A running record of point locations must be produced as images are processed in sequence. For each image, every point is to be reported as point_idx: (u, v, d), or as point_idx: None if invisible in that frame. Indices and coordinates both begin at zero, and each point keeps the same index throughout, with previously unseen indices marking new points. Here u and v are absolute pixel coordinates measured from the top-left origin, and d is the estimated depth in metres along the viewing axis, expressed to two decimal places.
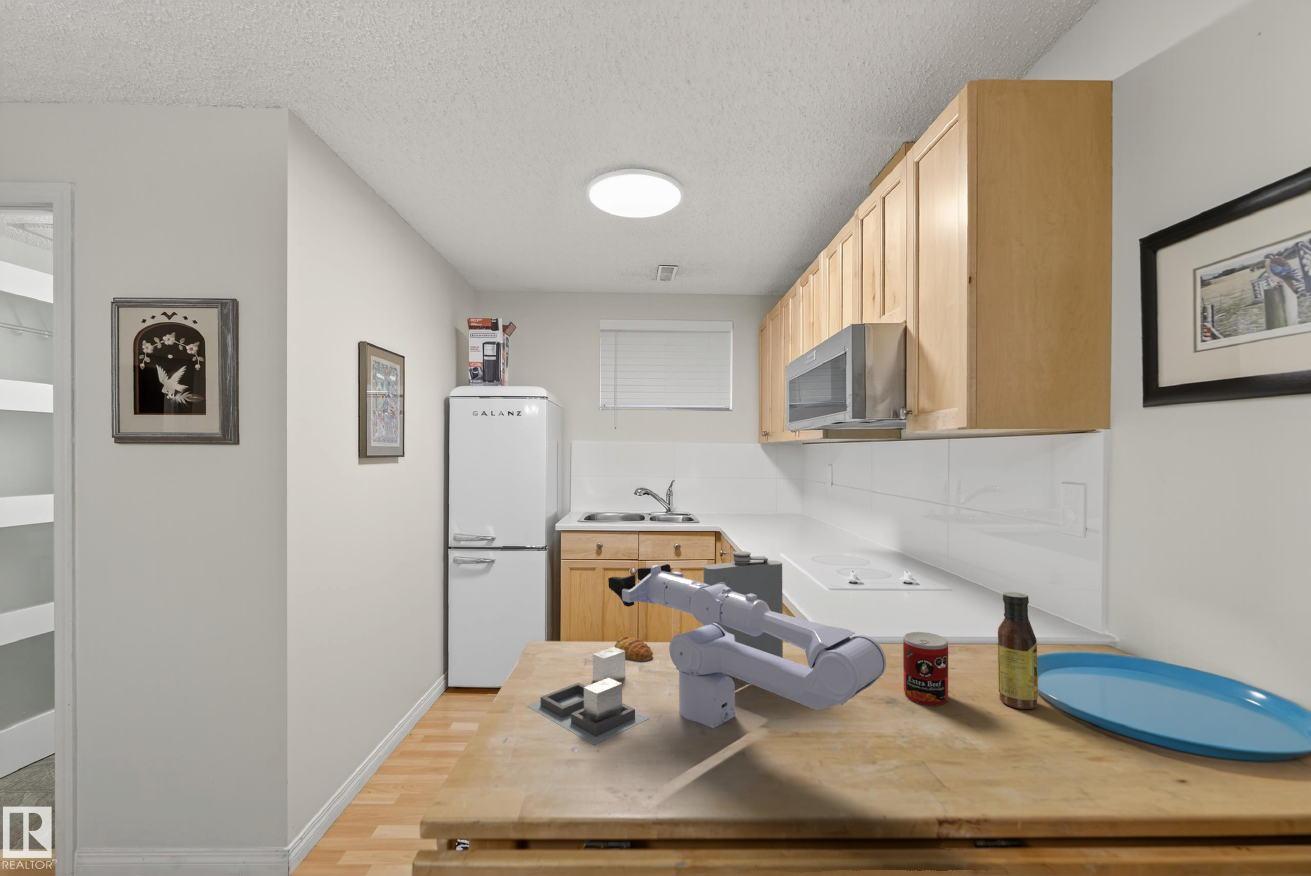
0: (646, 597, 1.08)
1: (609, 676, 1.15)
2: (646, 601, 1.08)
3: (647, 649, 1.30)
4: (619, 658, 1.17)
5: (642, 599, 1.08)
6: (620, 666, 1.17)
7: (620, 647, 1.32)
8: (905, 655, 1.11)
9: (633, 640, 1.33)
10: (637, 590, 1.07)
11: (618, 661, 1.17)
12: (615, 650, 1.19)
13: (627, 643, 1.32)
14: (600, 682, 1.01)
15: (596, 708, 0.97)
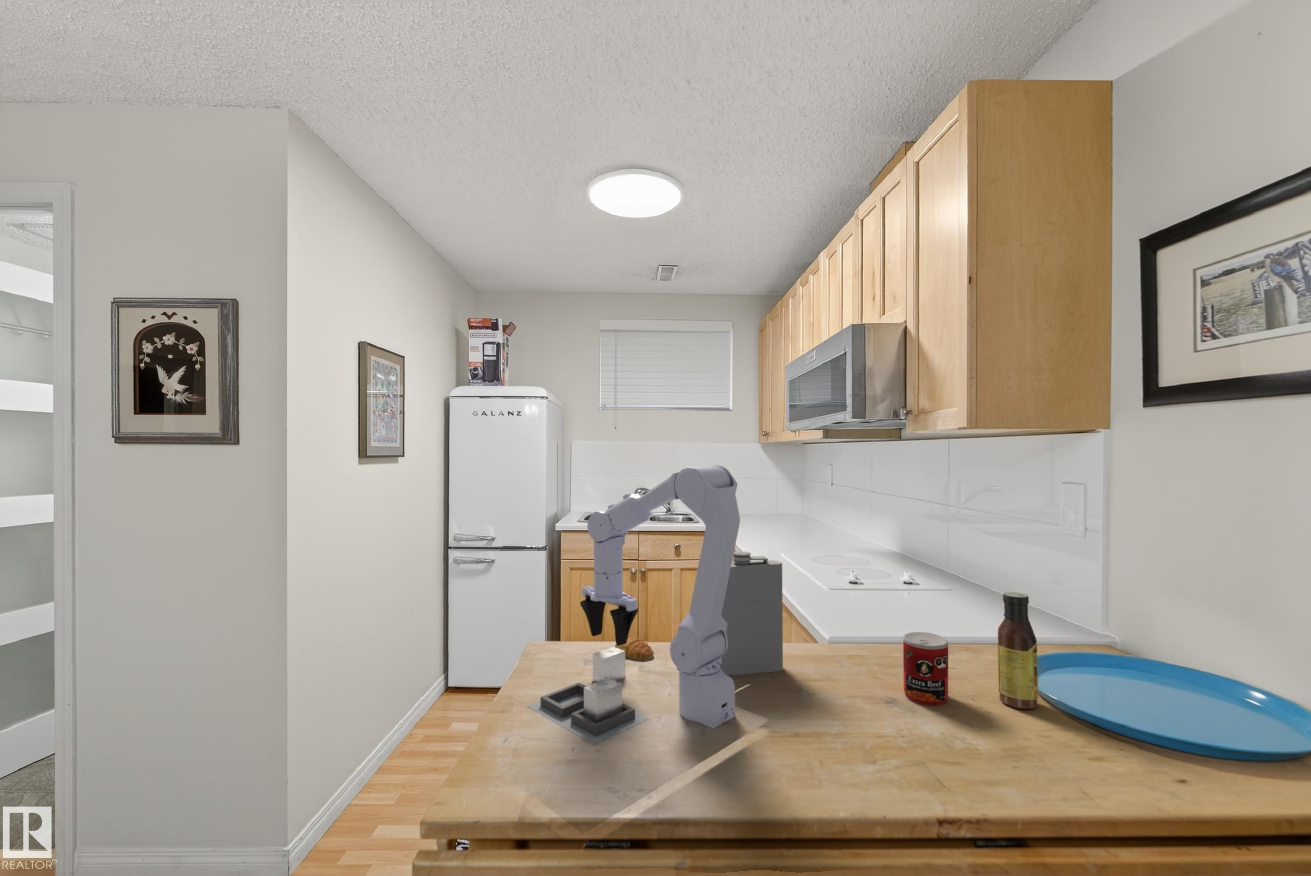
0: (622, 595, 1.16)
1: (609, 676, 1.15)
2: (625, 594, 1.17)
3: (648, 649, 1.30)
4: (619, 658, 1.17)
5: (626, 597, 1.16)
6: (620, 666, 1.17)
7: (621, 647, 1.32)
8: (905, 655, 1.11)
9: (634, 640, 1.33)
10: (622, 600, 1.13)
11: (618, 661, 1.17)
12: (615, 650, 1.19)
13: (627, 642, 1.32)
14: (600, 682, 1.01)
15: (596, 708, 0.97)
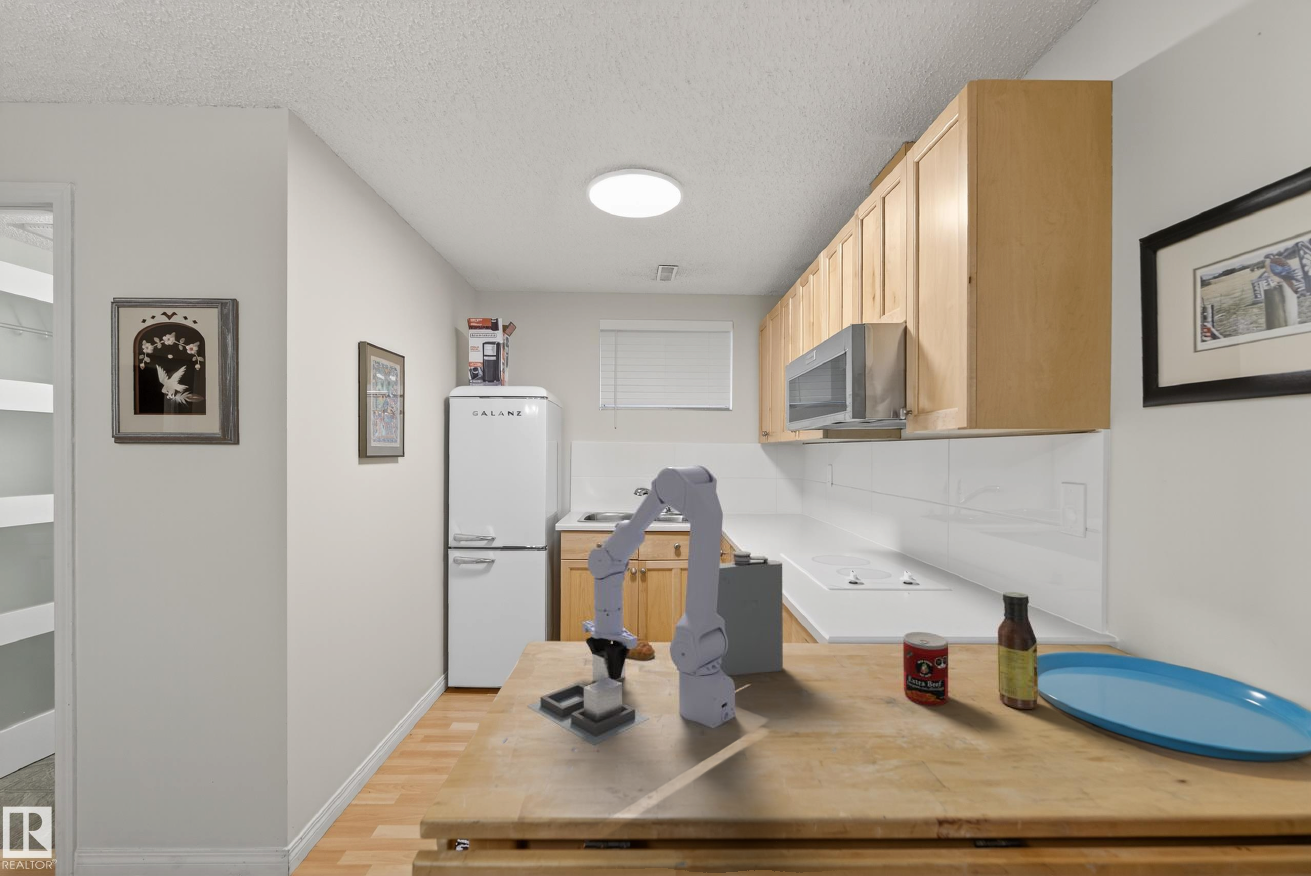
0: (622, 632, 1.16)
1: (609, 676, 1.15)
2: (625, 630, 1.17)
3: (649, 648, 1.31)
4: None
5: (626, 633, 1.16)
6: None
7: None
8: (905, 655, 1.11)
9: None
10: None
11: None
12: None
13: None
14: (600, 682, 1.01)
15: (596, 708, 0.97)
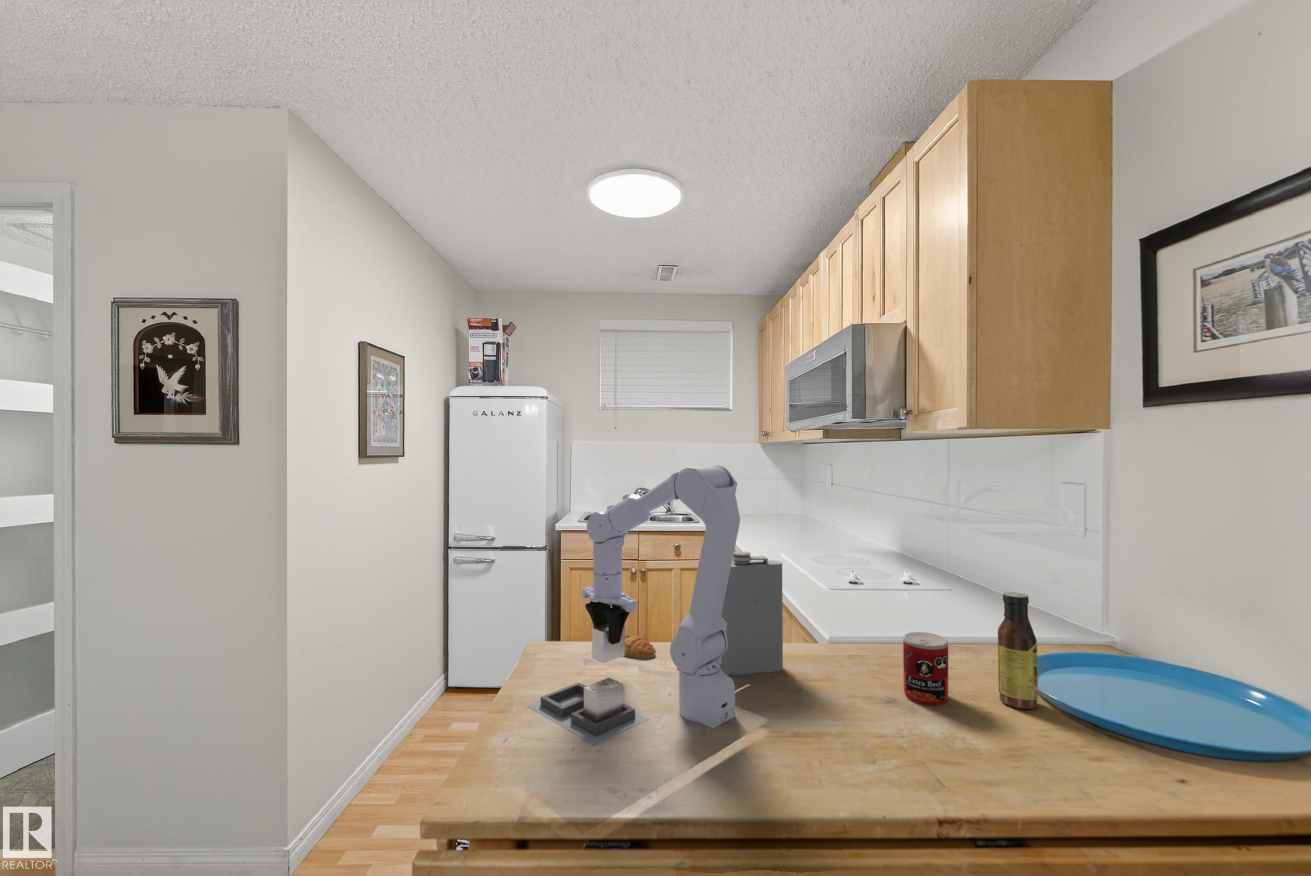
0: (622, 596, 1.16)
1: (608, 650, 1.15)
2: (625, 595, 1.16)
3: (650, 647, 1.31)
4: None
5: (625, 598, 1.16)
6: None
7: None
8: (905, 655, 1.11)
9: (635, 638, 1.34)
10: (622, 601, 1.13)
11: None
12: None
13: (629, 641, 1.33)
14: (600, 682, 1.01)
15: (596, 708, 0.97)
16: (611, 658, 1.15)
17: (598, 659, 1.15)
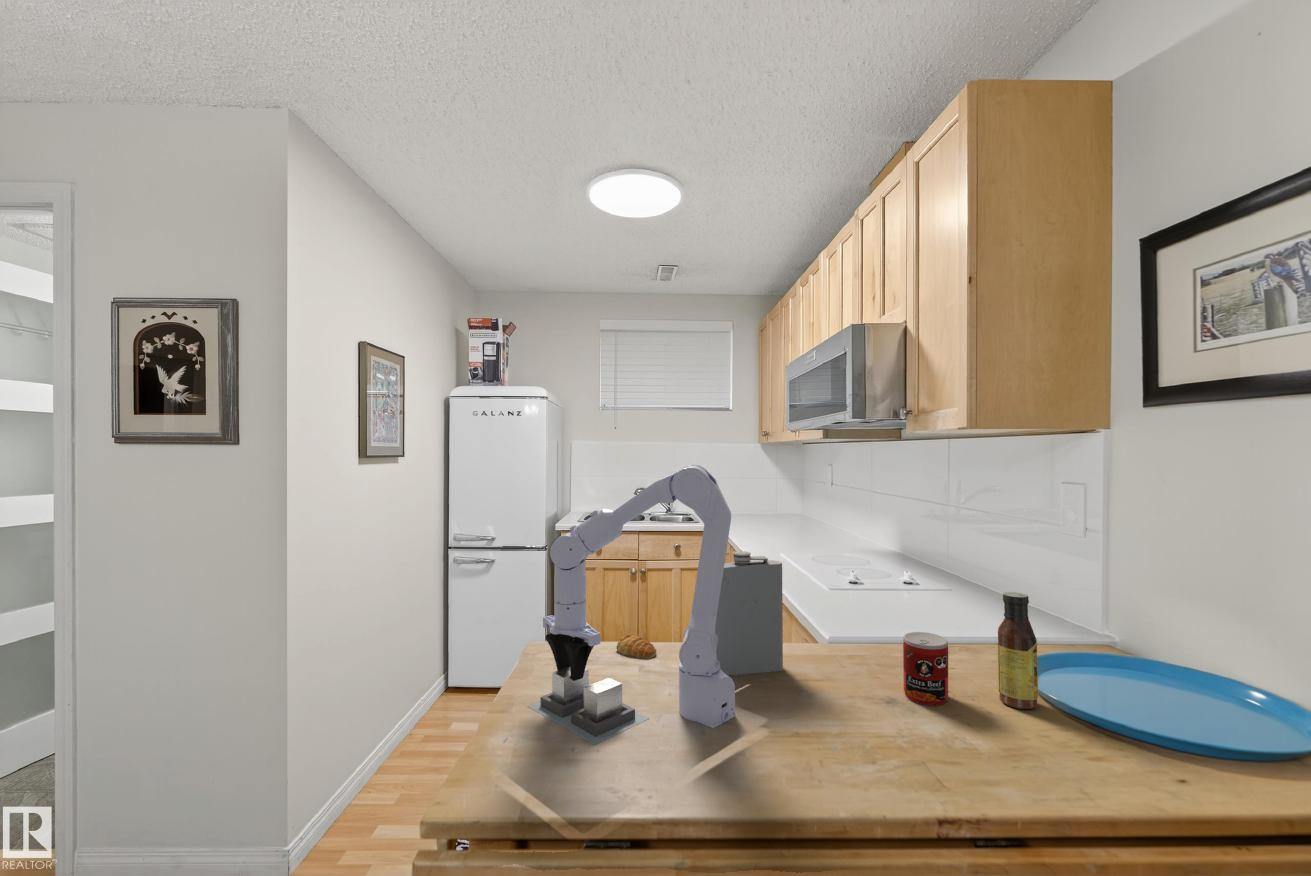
0: (585, 627, 1.05)
1: (570, 697, 1.04)
2: (589, 626, 1.06)
3: (651, 646, 1.32)
4: None
5: (589, 629, 1.05)
6: (583, 686, 1.06)
7: (623, 645, 1.33)
8: (905, 655, 1.11)
9: (636, 638, 1.34)
10: None
11: (581, 681, 1.06)
12: None
13: (630, 641, 1.33)
14: (600, 682, 1.01)
15: (596, 708, 0.97)
16: None
17: None
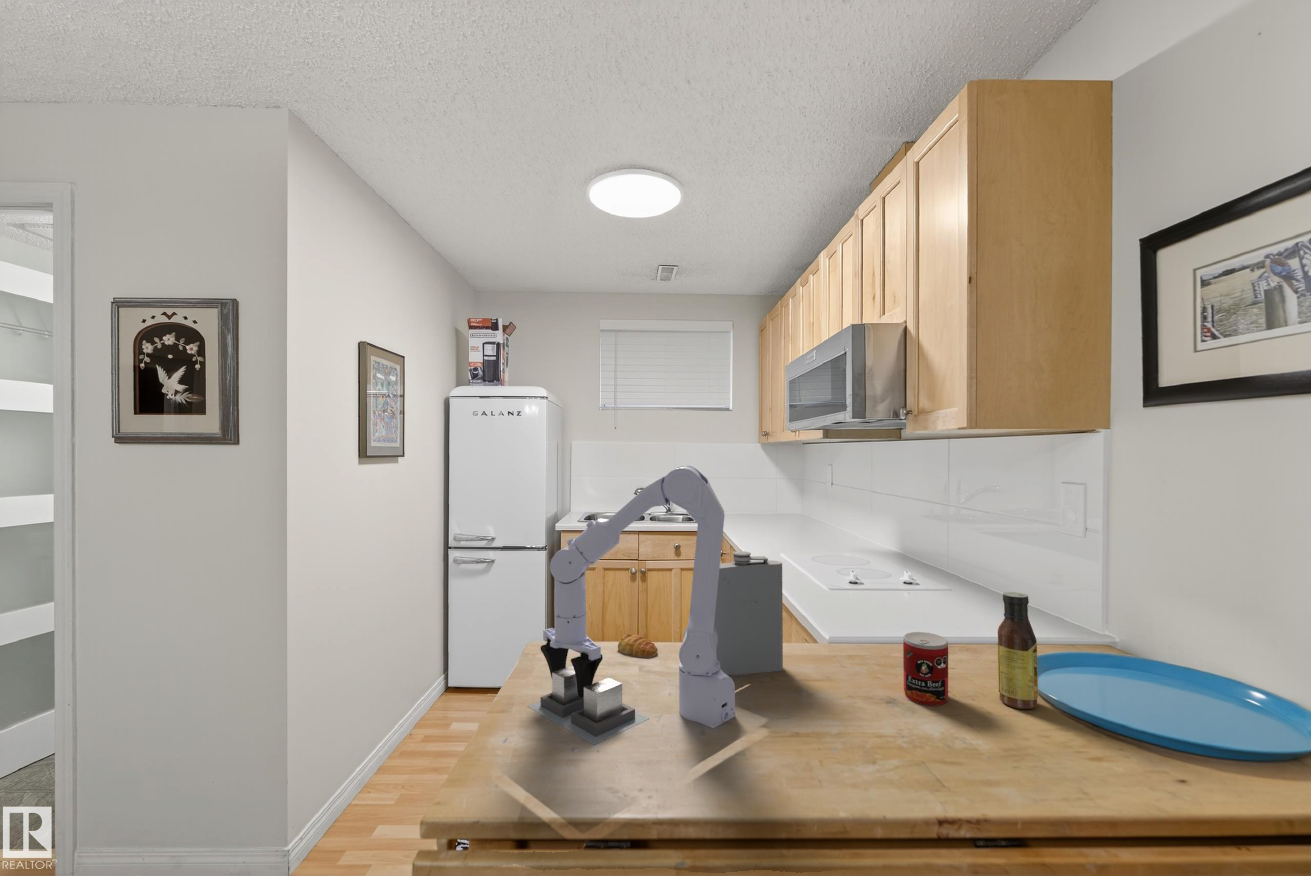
0: (585, 640, 1.05)
1: (570, 697, 1.04)
2: (589, 639, 1.06)
3: (652, 645, 1.32)
4: None
5: (589, 642, 1.05)
6: None
7: (625, 645, 1.33)
8: (905, 655, 1.11)
9: (637, 637, 1.35)
10: (585, 647, 1.02)
11: None
12: None
13: (631, 640, 1.34)
14: (600, 682, 1.01)
15: (596, 708, 0.97)
16: None
17: None
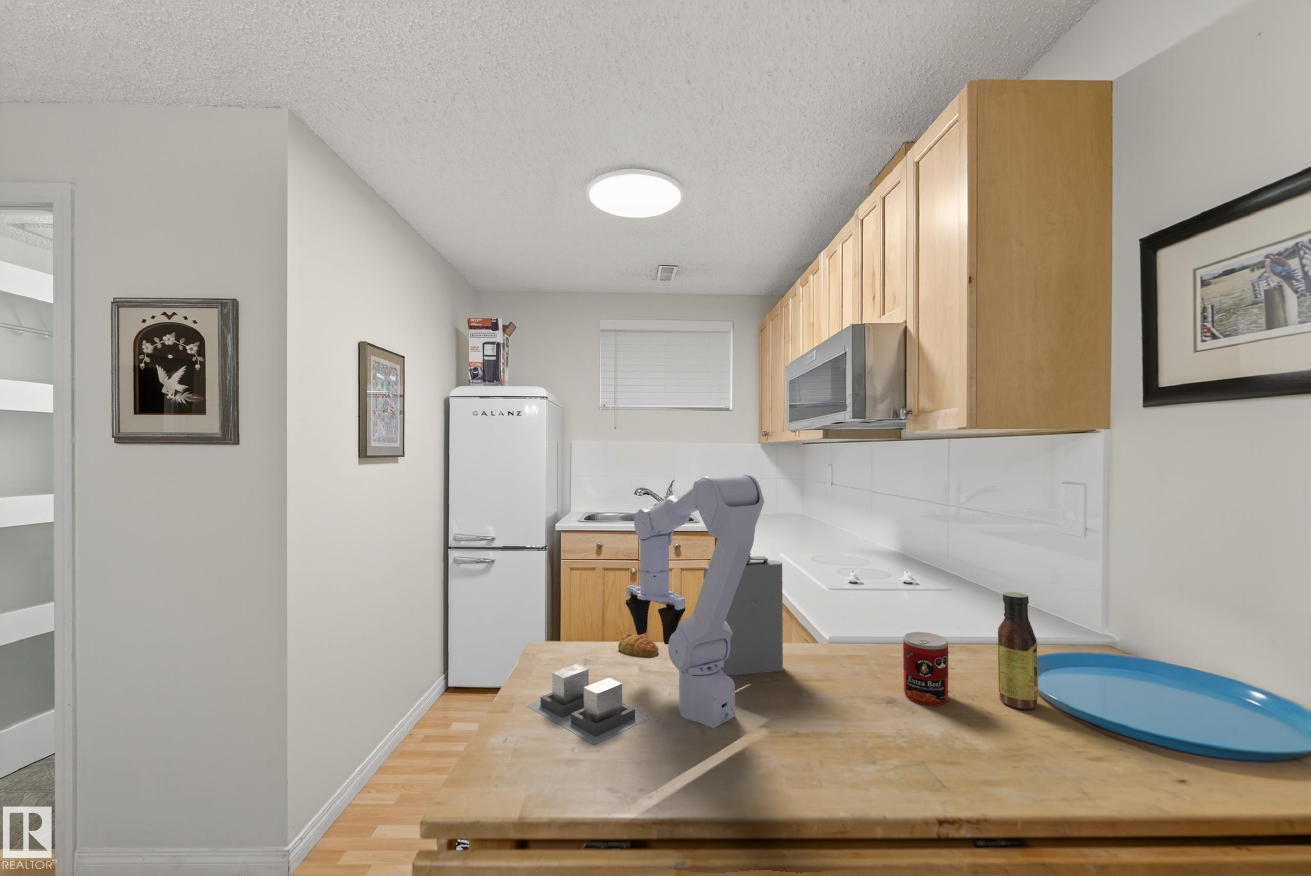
0: (669, 594, 1.15)
1: (570, 697, 1.04)
2: (672, 593, 1.16)
3: (653, 645, 1.33)
4: (582, 677, 1.06)
5: (673, 595, 1.15)
6: (583, 686, 1.06)
7: (626, 644, 1.33)
8: (905, 655, 1.11)
9: (638, 637, 1.35)
10: None
11: (581, 681, 1.06)
12: (578, 667, 1.08)
13: (632, 640, 1.34)
14: (600, 682, 1.01)
15: (596, 708, 0.97)
16: None
17: None
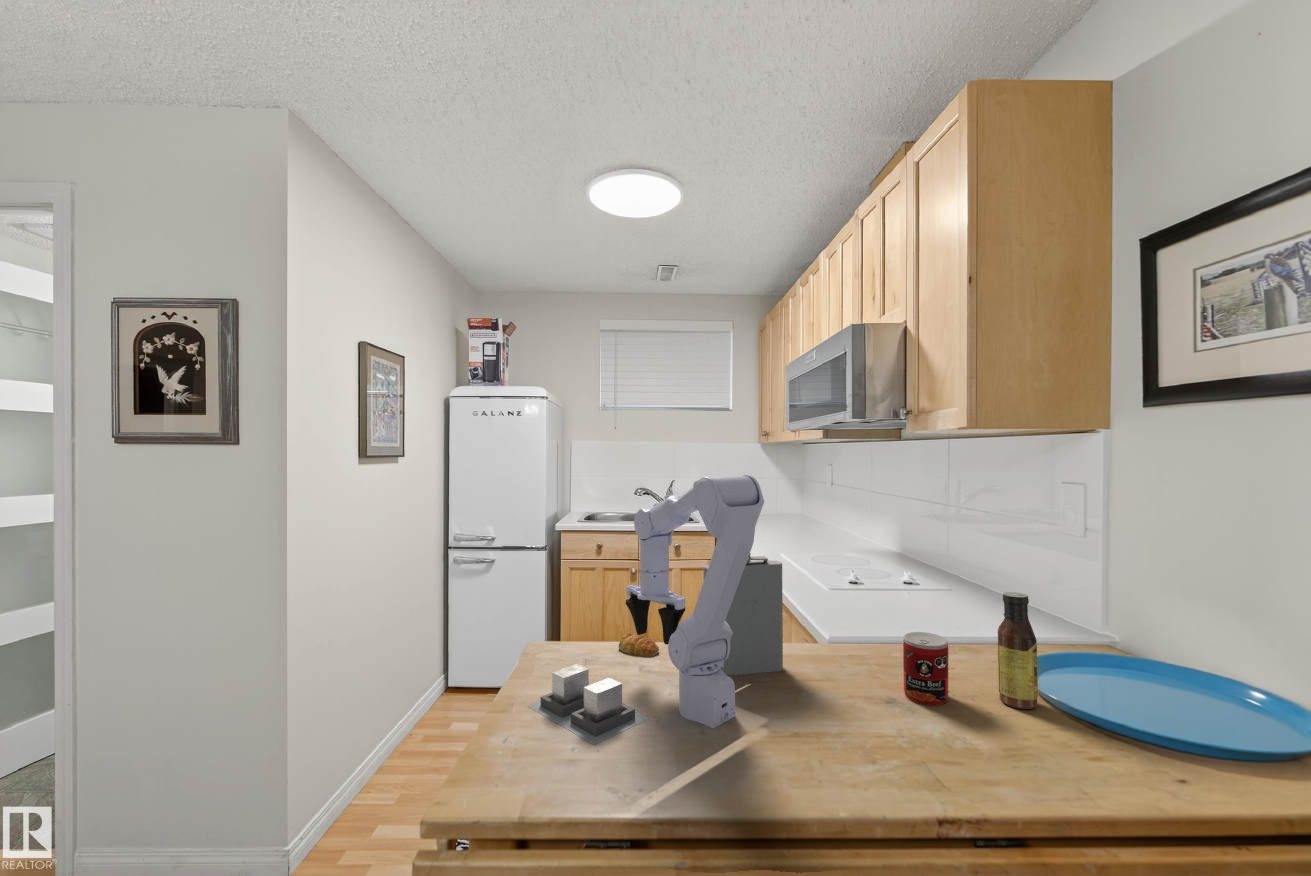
0: (669, 594, 1.15)
1: (570, 697, 1.04)
2: (672, 593, 1.16)
3: (653, 644, 1.33)
4: (582, 677, 1.06)
5: (673, 595, 1.15)
6: (583, 686, 1.06)
7: (626, 644, 1.34)
8: (905, 655, 1.11)
9: (638, 636, 1.35)
10: None
11: (581, 681, 1.06)
12: (578, 667, 1.08)
13: (632, 639, 1.34)
14: (600, 682, 1.01)
15: (596, 708, 0.97)
16: None
17: None
